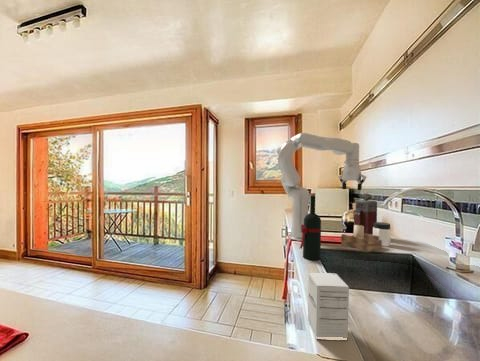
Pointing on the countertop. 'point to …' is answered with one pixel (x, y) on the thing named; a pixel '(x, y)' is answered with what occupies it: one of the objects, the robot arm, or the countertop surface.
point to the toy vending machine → (365, 213)
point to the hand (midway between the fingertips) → (351, 189)
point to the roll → (359, 231)
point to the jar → (382, 232)
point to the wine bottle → (311, 233)
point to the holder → (362, 242)
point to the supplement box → (328, 305)
